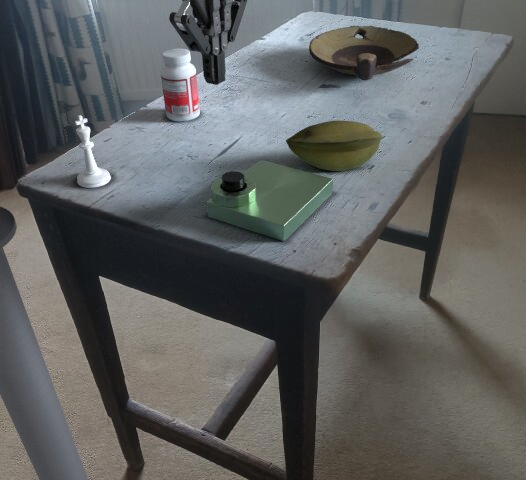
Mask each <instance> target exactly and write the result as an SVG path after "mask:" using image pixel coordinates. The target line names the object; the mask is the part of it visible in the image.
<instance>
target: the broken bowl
mask: <svg viewBox="0 0 526 480" xmlns="http://www.w3.org/2000/svg"><path fill="white" fill-rule="evenodd" d="M358 35H359V36H360V37H356V36H358ZM419 48H420V44H419V43H418V41H417V40H416V38H414V37H412V36H411V35H410V34H407V33H406V32H403V31H400V30H394V29H391V28H390V29H389V28H386V27H381V26H374V25H351V26H347V27H340V28H334V29H331V30H327V31H325V32H322V33H320V34H317V35H316V36H315V37H312V39H311V40H310V42H309V46H308V52H309V55H310V57H311V58H312V59H313V60H314V61H316V62H317V63H318V64H320V65H322V66H324V67H326V68H329V69H330V70H334V71H335V72H338V73H342V74H346V75H351V76H357V77H358V78H359V80H360V81H366V82H367V81H370V80H371V79H372V78H373V76H376V75H381V74H385V73H388V72H392V71H394V70H396V69H399V68H401V67H403V66H406V65H407V64H409V63H411V62H413V61H414V58H405V57H408V56H410V55H412V54H413V53H414V52H416V51H418V50H419ZM404 58H405V59H404Z"/></svg>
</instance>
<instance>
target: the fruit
mask: <svg viewBox="0 0 526 480" xmlns="http://www.w3.org/2000/svg"><path fill="white" fill-rule="evenodd" d="M383 139H384V137H383V135H382V133H381V132H380V131H376V130H374V128H373V127H372V126H371V125H368V124H365V123H363V122H359V121H353V120H328V121H324V122H319V123H316V124H312V125H309V126H307V127H304V128H303V129H301V130H299V131H297V132H296V133H295V134H293V135H291V136H290V137H288V138H287V139H286V140H285V142H286V144H287V146H288V149H289V150H290V151H291V152H292V153H293V155H296V157H298V158H299V159H300V160H302V161H303V162H305V163H306V164H309V166H311V167H314V168H316V169H319V170H324V171H330V172H344V171H346V172H347V171H350V170H354V169H357V168H360V167H361V166H363V165H364V164H366V163H367V162H368V161H370V160H371V158H373V157H374V155H376V153H377V152H378V150H379V147H380V143H381V141H382V140H383Z"/></svg>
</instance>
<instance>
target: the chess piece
mask: <svg viewBox="0 0 526 480" xmlns="http://www.w3.org/2000/svg"><path fill="white" fill-rule="evenodd" d="M85 123H88V118H86V117H83V115H82V114H79V115H77V120H75V121H74V125H75V126H78V127H77V128H76V129H75V133H76V134H77V136H78V137H79V140H80V141H81V142H80V143H79V144H78V148H79V149H81V150H83V155H84V163H85V168H84V170H83V171H81V172H79V173H78V174H77V176H76V179H77V181H76V182H77V184H78V185H79V186H80V187H82V188H87V189H92V188H93V189H94V188H99V187H102V186H105V185H107V184H108V183H109V182H110V181H111V179H112V176H111V174H110V172H109V171H108V170H107V169H105V168H102V167H99V166H98V165H97V162H96V160H95V157H94V154H93V151H92V148H94V146H95V144H94V142H93V141H91V140H90V136H91V128H90V126H86V125H85Z"/></svg>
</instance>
